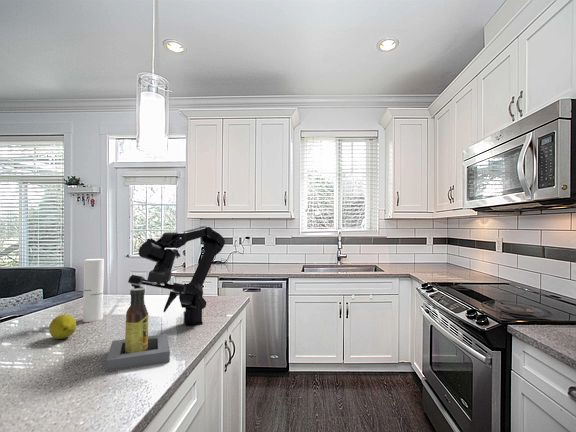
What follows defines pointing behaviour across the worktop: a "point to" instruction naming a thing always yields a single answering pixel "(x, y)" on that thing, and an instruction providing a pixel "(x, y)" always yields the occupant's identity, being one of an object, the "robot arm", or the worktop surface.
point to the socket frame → (138, 354)
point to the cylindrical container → (93, 290)
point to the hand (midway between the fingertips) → (150, 309)
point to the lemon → (62, 326)
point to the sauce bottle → (136, 323)
